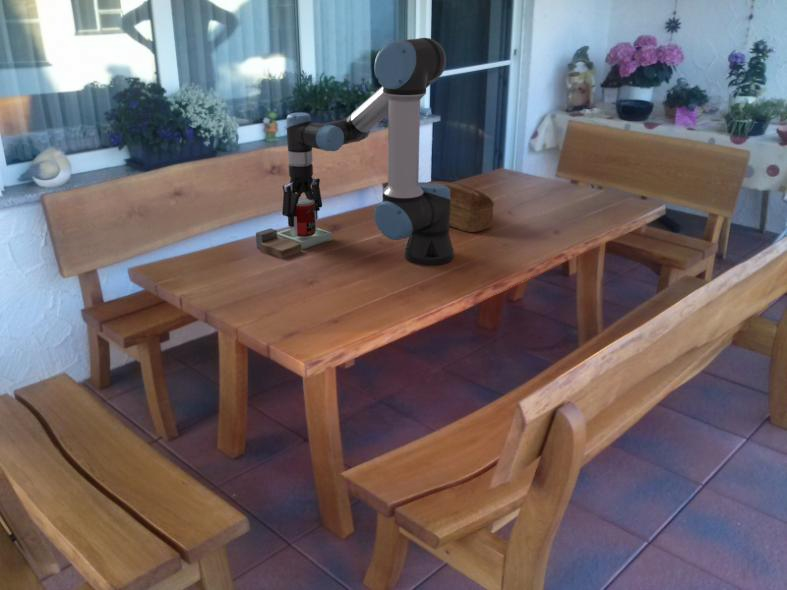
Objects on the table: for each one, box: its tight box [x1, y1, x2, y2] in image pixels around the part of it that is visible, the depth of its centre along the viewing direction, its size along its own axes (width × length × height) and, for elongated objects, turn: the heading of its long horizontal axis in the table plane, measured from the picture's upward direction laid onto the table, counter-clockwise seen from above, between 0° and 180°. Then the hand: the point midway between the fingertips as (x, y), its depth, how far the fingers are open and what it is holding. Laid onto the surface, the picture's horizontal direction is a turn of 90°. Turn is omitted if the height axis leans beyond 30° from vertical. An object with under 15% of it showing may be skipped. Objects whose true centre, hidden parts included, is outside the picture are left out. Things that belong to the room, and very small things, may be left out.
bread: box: [428, 180, 495, 233], centre depth 262 cm, size 12×31×14 cm, turn 44°
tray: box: [277, 227, 333, 251], centre depth 245 cm, size 13×13×2 cm
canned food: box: [295, 197, 316, 237], centre depth 243 cm, size 8×8×11 cm
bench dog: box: [255, 228, 278, 250], centre depth 239 cm, size 3×6×5 cm, turn 138°
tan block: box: [259, 237, 302, 259], centre depth 236 cm, size 10×8×3 cm
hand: (303, 232), depth 245 cm, fingers closed on canned food, 8 cm apart
